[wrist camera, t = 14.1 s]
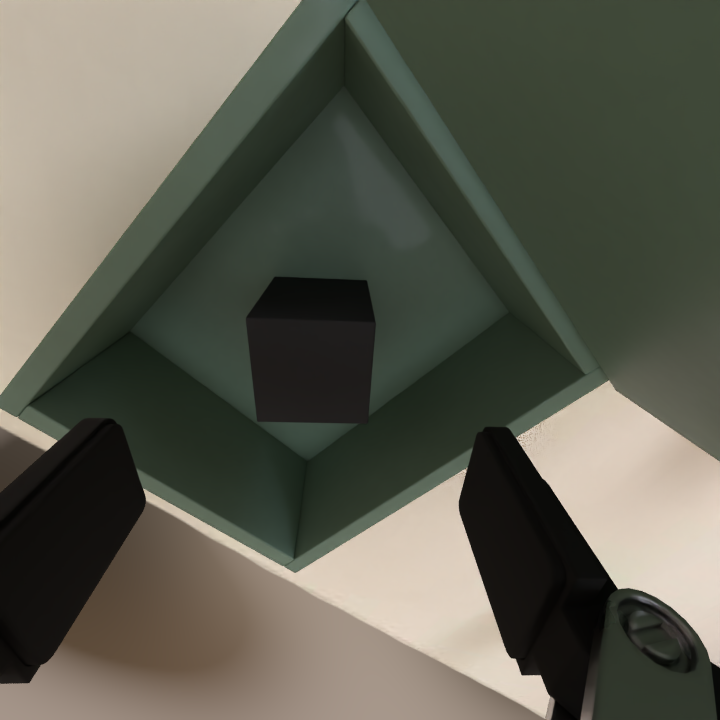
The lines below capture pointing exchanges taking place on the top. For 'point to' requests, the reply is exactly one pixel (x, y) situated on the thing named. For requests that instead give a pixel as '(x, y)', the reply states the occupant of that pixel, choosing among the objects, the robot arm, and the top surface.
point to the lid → (597, 169)
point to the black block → (312, 351)
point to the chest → (310, 260)
